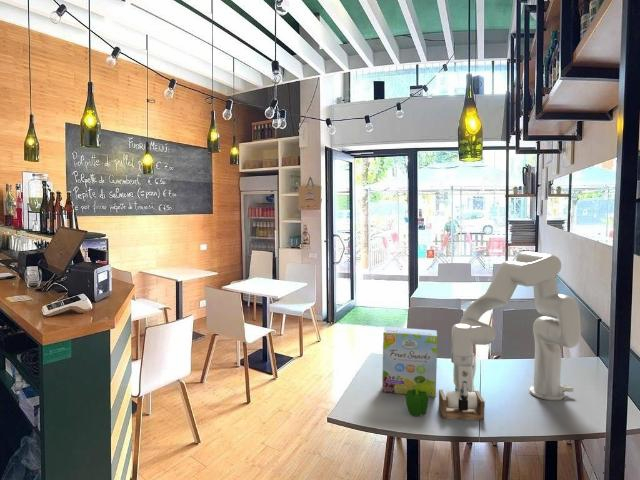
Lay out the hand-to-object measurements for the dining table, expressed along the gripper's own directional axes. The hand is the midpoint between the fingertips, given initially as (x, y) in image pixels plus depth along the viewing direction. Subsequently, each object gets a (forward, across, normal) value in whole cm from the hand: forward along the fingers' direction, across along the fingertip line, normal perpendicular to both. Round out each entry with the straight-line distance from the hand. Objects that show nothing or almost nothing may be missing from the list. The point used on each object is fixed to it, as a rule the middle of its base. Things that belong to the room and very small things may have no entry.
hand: (461, 405), depth 163 cm
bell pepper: (+3, -1, +16) cm, 16 cm away
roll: (+1, 0, 0) cm, 1 cm away
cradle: (+3, 0, 0) cm, 3 cm away
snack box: (+3, +18, +17) cm, 25 cm away
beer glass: (+3, +22, -7) cm, 23 cm away
